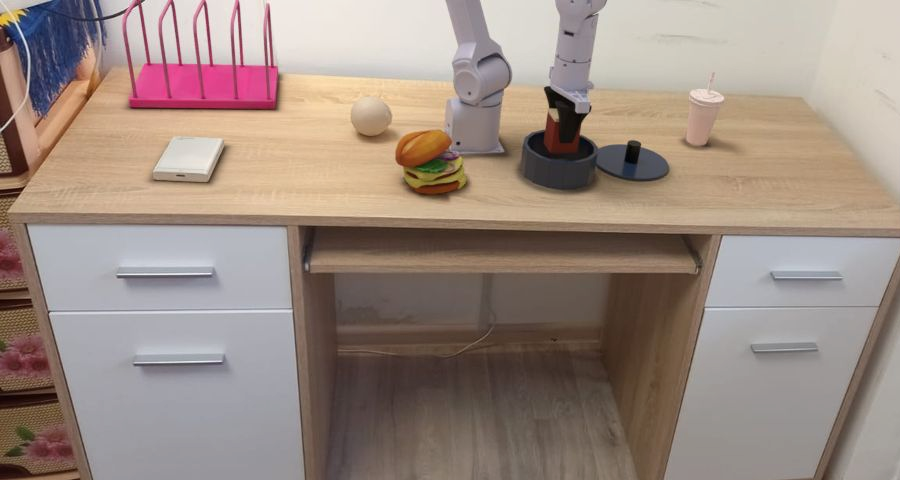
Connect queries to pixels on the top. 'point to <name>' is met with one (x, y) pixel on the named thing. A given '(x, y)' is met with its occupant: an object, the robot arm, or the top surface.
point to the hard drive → (189, 159)
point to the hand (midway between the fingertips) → (561, 136)
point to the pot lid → (631, 162)
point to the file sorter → (202, 72)
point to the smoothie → (702, 113)
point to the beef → (557, 135)
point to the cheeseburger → (430, 162)
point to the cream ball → (370, 116)
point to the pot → (558, 163)
